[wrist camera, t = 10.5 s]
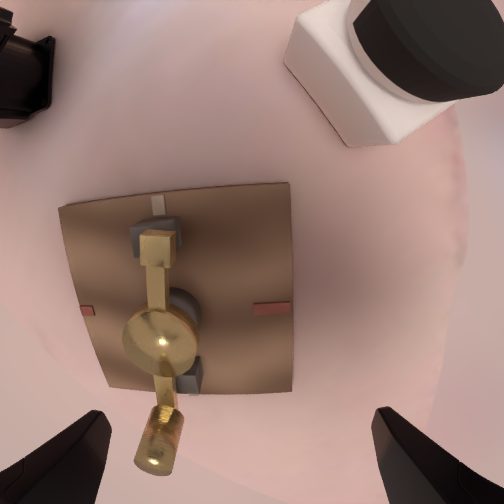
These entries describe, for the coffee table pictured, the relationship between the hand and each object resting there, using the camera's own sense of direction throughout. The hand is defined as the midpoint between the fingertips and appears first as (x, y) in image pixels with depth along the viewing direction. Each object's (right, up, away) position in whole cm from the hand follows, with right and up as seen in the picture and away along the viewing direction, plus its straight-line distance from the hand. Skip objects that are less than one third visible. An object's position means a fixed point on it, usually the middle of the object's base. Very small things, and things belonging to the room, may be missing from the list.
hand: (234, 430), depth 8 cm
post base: (-5, +2, +13) cm, 14 cm away
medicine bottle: (+7, +17, +8) cm, 20 cm away
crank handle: (-5, 0, +9) cm, 11 cm away
